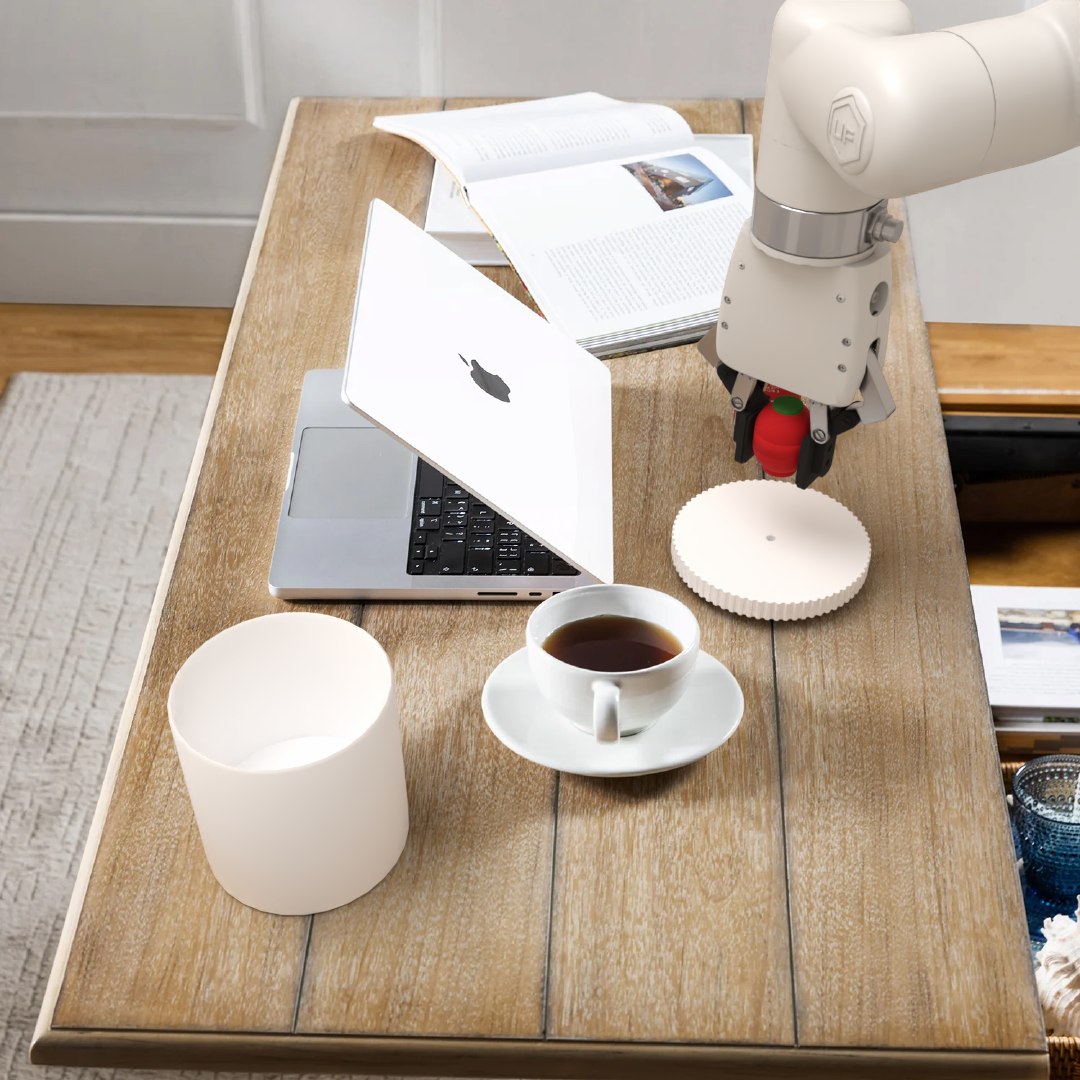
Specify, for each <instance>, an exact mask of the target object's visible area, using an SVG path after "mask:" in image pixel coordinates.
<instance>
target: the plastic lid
mask: <svg viewBox="0 0 1080 1080" xmlns="http://www.w3.org/2000/svg"><path fill="white" fill-rule="evenodd" d="M868 535H869V533H868V531H866V527H865V526H864V525H863V522H862V521H861V520H859V517H858V516H856V515H854V512H853V511H851V510H849V508H848V507H847V506H843V503H841V502H838V501H837V499H835V498H834V497H833V498H831V497H830V495H829V494H823V492H822V491H819V490H818V491H816V490H815V489H814V488H809V487H807V488H806V489H805V490H803V489H800V488H798V487H797V485H796V484H795V483H792V482H789V481H786V482H783V481H782V480H778V481H775V480H774V479H769V480H766V479H764V478H762V479H761V480H758V479H757V478H756V479H755V478H754V479H753V480H750V479H745V480H744V481H742V480H736V482H734V481H730V482H729V483H725V482H724V483H721V485H719V484H717V485H715V486H714V487H713V488H712V487H709V488H708V489H707V490H702V491H701V493H697V494H695V497H691V498H690V501H687V502H685V505H682V507H681V509H679V511H678V514H676V516H675V519H674V520H673V525H672V530H671V543H670V556H671V561H673V562H672V564H673V567H675V571H676V572H677V573H678V577H680V578H682V582H683V583H684V584H686V583H687V587H688V588H689V589H692V592H694V593H697V594H698V596H699V597H700V598H704V599H705V601H706V602H709V603H710V602H711V603H712V605H714V606H715V607H718V606H719V607H720V609H722V610H728V612H730V613H731V614H733V613H737V615H739V616H743V615H745V616H746V617H747V618H752V617H754V618H755V619H756V620H761V619H764V620H765V621H770V620H774V622H779V621H780V620H782V621H785V622H787V621H789V620H792V621H797V620H798V619H800V620H806V619H807V618H810V619H813V618H815V616H819V617H821V616H823V614H824V613H825V614H829V613H830V612H831V611H832V610H833V611H836V610H837V609H838V608H839V607H840V608H841V607H843V606H844V604H845V603H846V604H847V603H849V602H850V599H853V598H855V595H858V593H859V591H860V590H861V589H862V588H863V585H864V584H865V582H866V579H867V577H868V572H869V566H870V562H871V557H872V548H871V546H872V543H871V542H870V541H871V539H870V536H868Z"/></svg>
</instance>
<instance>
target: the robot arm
mask: <svg viewBox="0 0 1080 1080" xmlns="http://www.w3.org/2000/svg"><path fill="white" fill-rule="evenodd" d="M772 23H773V24H772V30H771V37H770V44H769V45H770V46H769V54H768V64H767V72H766V79H765V80H766V83H765V90H764V99H763V107H762V116H761V117H762V118H761V126H760V135H759V143H758V144H759V145H758V154H757V163H756V170H755V171H756V172H755V181H754V190H753V198H752V200H753V201H752V208H751V215H750V217H748V218H747V219H746V220H745V221H744V222H743V224H742V226H741V228H740V231H739V233H738V236H737V239H736V242H735V244H734V247H733V251H732V254H731V256H730V257H731V258H730V260H729V264H728V268H727V271H726V275H725V279H724V283H723V284H724V285H723V288H722V293H721V299H720V304H719V309H718V316H717V322H716V323H715V324H714V325H713V326H712V327H711V328H710V329H709V330H708V331H707V332H706V333H705V334H704V335H703V336H702V337H701V338H700V340H698V342H697V343H696V349H697V351H698V352H699V353H700V354H701V356H702V357H703V358H704V360H706V361H707V362H708V363H709V365H710V366H711V367H712V368H713V369H714V368H715V369H716V375H717V377H718V378H719V380H720V381H721V383H722V384H723V386H724V387H725V389H726V391H727V392H728V394H729V395H730V397H729V401H728V402H729V405H730V407H731V408H732V409H733V411H734V410H736V417H735V425H733V435H732V441H733V442H734V443H735V450H734V458H733V460H734V462H736V463H739V464H740V465H742V464H746V463H747V462H749V461H750V460H751V459H752V458H753V457H754V456H755V454H754V450H753V435H754V427H755V422H756V418H757V416H758V414H759V412H760V411H761V410H762V409H763V408H764V407H765V406H766V405H767V404H769V403H770V402H771V401H770V396H769V395H767V394H765V393H764V392H765V390H766V387H767V384H768V383H769V384H772V385H774V386H777V387H780V388H782V389H785V390H788V391H790V392H793V393H796V394H798V395H801V397H804V398H806V399H808V402H809V403H808V404H809V405H808V406H809V410H810V428H811V429H810V432H809V433H808V434H807V435H806V436H805V437H804V438H803V439H802V442H801V447H800V453H799V460H798V466H797V471H796V472H795V480H794V484H796V485H797V487H798V488H800V489H803V490H805V489H806V488H809V487H810V486H811V485H812V484H813V483H814V482H815V481H816V480H817V479H818V478H824V477H825V476H826V475H827V474H828V473H829V471H830V470H831V468H832V465H833V460H834V454H835V449H836V443H837V438H838V436H839V435H841V434H843V433H845V432H846V433H847V431H850V430H853V429H855V428H856V427H857V426H866V425H871V424H877V423H882V422H885V421H886V420H887V419H889V418H890V416H892V414H894V413H895V412H896V410H897V405H896V402H895V400H894V397H893V395H892V392H891V390H890V387H889V385H888V383H887V380H886V377H885V375H884V372H883V370H884V366H885V361H886V355H887V349H888V342H889V332H890V322H891V312H892V311H891V310H892V295H893V293H892V292H893V267H892V251H891V244H890V243H892V244H896V243H897V242H898V241H899V240H900V238H901V236H902V233H903V230H904V227H905V226H904V223H905V222H904V221H903V220H901V219H897V218H894V217H893V215H892V214H890V213H889V212H888V205H889V200H892V199H902V198H906V197H911V196H914V195H919V194H923V193H926V192H929V191H933V190H937V189H940V188H945V187H947V186H951V185H954V184H955V185H956V184H959V183H961V182H963V181H966V180H970V179H971V180H972V179H974V178H979V177H982V176H986V175H989V174H994V173H998V172H1002V171H1006V170H1010V169H1011V170H1012V169H1015V168H1018V167H1019V168H1020V167H1022V166H1026V165H1031V164H1034V163H1037V162H1041V161H1043V160H1046V159H1049V158H1052V157H1055V156H1058V155H1061V154H1063V153H1066V152H1068V151H1070V150H1073V149H1075V148H1078V147H1080V0H1046V1H1045V2H1042V3H1040V4H1038V5H1035V6H1034V7H1031V8H1029V9H1027V10H1024V11H1021V12H1018V13H1015V14H1011V15H1007V16H1001V17H995V18H990V19H984V20H979V21H974V22H969V23H964V24H960V25H954V26H951V27H945V28H944V27H943V28H940V29H935V30H932V31H928V32H920V33H916V32H915V22H914V17H913V14H912V12H911V10H910V9H909V7H908V6H907V5H906V4H905V3H904V2H903V1H902V0H785V1H784V2H783V3H782V4H781V6H780V7H779V9H778V10H777V12H776V14H775V17H774V21H773V22H772ZM858 390H859V393H860V394H861V397H862V400H855V396H856V394H857V391H858ZM854 400H855V401H854Z"/></svg>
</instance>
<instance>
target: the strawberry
mask: <svg viewBox="0 0 1080 1080" xmlns="http://www.w3.org/2000/svg"><path fill="white" fill-rule="evenodd" d="M810 429H811V428H810V408H808V407H807V406H806V405H805V403H804V402H803V400H802V399H801V400H800V399H798V398H796V397H793V396H780V397H777V398H776V399H775V400H774V401H772V402H770V403H769V404H767V405H766V406H765V407H764V408H763V409H762V410H761V411H760V412H759V414H758V416H757V418H756V422H755V427H754V435H753V450H754V454H755V455H754V456H755V458H756V460H757V462H758V463H759V464H760V465H761V469H762V470H763V472H764V473H766V474H767V475H769V476H770V477H774V478H778V479H781V478H790V477H792V476H793V475H796V473H797V466H798V460H799V453H800V447H801V442H802V439H803V438H804V437H805V436H806V435H807V434H808V433H809V432H810Z"/></svg>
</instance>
